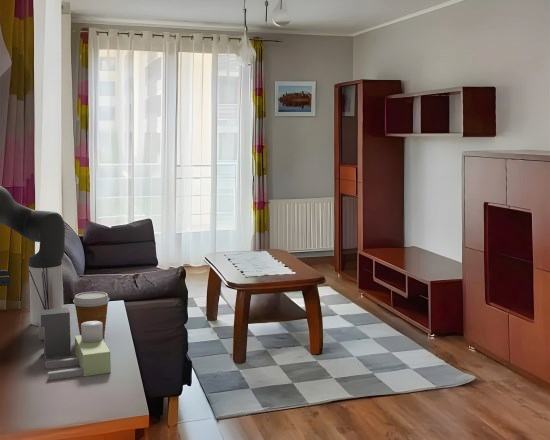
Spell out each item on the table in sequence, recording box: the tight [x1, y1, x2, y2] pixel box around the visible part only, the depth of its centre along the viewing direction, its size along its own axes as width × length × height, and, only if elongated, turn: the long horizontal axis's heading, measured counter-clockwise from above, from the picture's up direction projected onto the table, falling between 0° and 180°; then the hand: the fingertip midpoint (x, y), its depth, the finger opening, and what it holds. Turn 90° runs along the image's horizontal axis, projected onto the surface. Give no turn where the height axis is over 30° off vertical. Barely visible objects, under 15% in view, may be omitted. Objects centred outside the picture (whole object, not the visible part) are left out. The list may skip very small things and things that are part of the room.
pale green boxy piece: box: [45, 321, 112, 381], centre depth 149 cm, size 16×14×9 cm
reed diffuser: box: [28, 266, 49, 340], centre depth 169 cm, size 10×7×20 cm
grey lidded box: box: [39, 307, 72, 359], centre depth 157 cm, size 5×7×11 cm
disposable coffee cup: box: [72, 291, 110, 339], centre depth 170 cm, size 10×10×12 cm
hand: (9, 277), depth 151 cm, fingers open, 8 cm apart
